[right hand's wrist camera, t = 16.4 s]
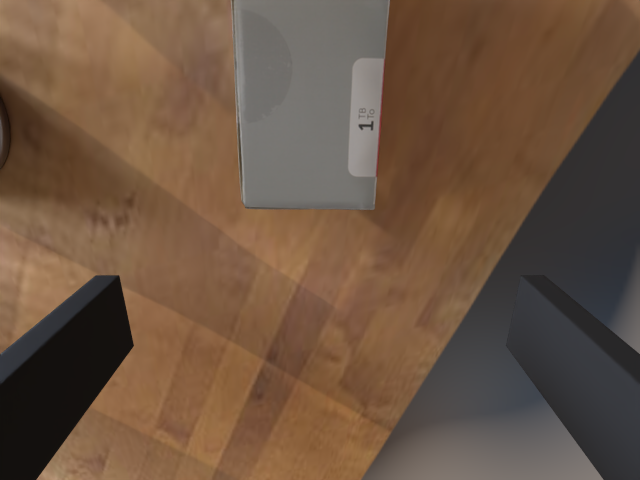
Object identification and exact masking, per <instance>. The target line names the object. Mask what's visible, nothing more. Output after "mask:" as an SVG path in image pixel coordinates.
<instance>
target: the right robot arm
mask: <svg viewBox="0 0 640 480" xmlns="http://www.w3.org/2000/svg"><path fill="white" fill-rule="evenodd" d="M9 146H10V127H9V121H8V117H7V113H6V110H5V107H4V104H3V102H2V99H1V97H0V169H1V168H2V166H3V164H4V162H5V160H6V158H7V155H8V151H9ZM133 346H134V344H133V339H132V335H131V330H130V325H129V320H128V315H127V311H126V306H125V301H124V296H123V291H122V286H121V282H120V277H119V275H97V276H95V277H93V278H92V279H91V280H90V281H89V282H87V283H86V284H85V285H84V286H82V287H81V288H80V289H79V290H78V291H76V292H75V293H74V294H73V295H72V296H70V297H69V298H68V299H67V300H65V301H64V302H63V303H62V304H61V305H59V306H58V307H57V308H56V309H55V310H53V311H52V312H51V313H50V314H48V315H47V316H46V317H45V318H44V319H42V320H41V321H40V322H39V323H38V324H36V325H35V326H34V327H33V328H32V329H30V330H29V331H28V332H27V333H25V334H24V335H23V336H22V337H21V338H19V339H18V340H17V341H16V342H15V343H13V344H12V345H11V346H10V347H8V348H7V349H6V350H5V351H4V352H2V353H1V354H0V480H36V479H37V478H38V477H39V475H40V474H41V472H42V471H43V470H44V468H45V467H46V466H47V464H48V463H49V462H50V460H51V459H52V457H53V456H54V455H55V453H56V452H57V451H58V449H59V448H60V446H61V445H62V444H63V442H64V441H65V440H66V438H67V437H68V435H69V434H70V433H71V431H72V430H73V429H74V427H75V426H76V424H77V423H78V422H79V420H80V419H81V418H82V416H83V415H84V414H85V412H86V411H87V409H88V408H89V407H90V405H91V404H92V403H93V401H94V400H95V398H96V397H97V396H98V394H99V393H100V392H101V390H102V389H103V387H104V386H105V385H106V383H107V382H108V381H109V379H110V378H111V377H112V375H113V374H114V372H115V371H116V370H117V368H118V367H119V366H120V364H121V363H122V361H123V360H124V359H125V357H126V356H127V355H128V353H129V352H130V350H131V349H132V348H133ZM506 346H507V348H508V349H509V350H510V352H511V353H512V355H513V356H514V357H515V359H516V360H517V361H518V363H519V364H520V366H521V367H522V368H523V370H524V371H525V372H526V374H527V375H528V377H529V378H530V379H531V381H532V382H533V383H534V385H535V386H536V387H537V389H538V390H539V392H540V393H541V394H542V396H543V397H544V398H545V400H546V401H547V403H548V404H549V405H550V407H551V408H552V409H553V411H554V412H555V414H556V415H557V416H558V418H559V419H560V420H561V422H562V423H563V424H564V426H565V427H566V428H567V430H568V431H569V433H570V434H571V435H572V437H573V438H574V440H575V441H576V442H577V444H578V445H579V446H580V448H581V449H582V451H583V452H584V453H585V455H586V456H587V457H588V459H589V460H590V461H591V463H592V464H593V466H594V467H595V468H596V470H597V471H598V472H599V474H600V475H601V477H602V478H603V479H604V480H640V354H639V353H638V352H636V351H635V350H634V349H633V348H632V347H630V346H629V345H628V344H627V343H625V342H624V341H623V340H622V339H621V338H619V337H618V336H617V335H616V334H615V333H613V332H612V331H611V330H610V329H608V328H607V327H606V326H605V325H604V324H602V323H601V322H600V321H599V320H598V319H596V318H595V317H594V316H593V315H591V314H590V313H589V312H588V311H587V310H585V309H584V308H583V307H582V306H581V305H579V304H578V303H577V302H576V301H575V300H573V299H572V298H571V297H570V296H568V295H567V294H566V293H565V292H564V291H562V290H561V289H560V288H559V287H558V286H556V285H555V284H554V283H553V282H551V281H550V280H549V279H548V278H547V277H545V276H544V275H542V276H541V275H540V276H539V275H536V276H535V275H534V276H531V275H529V276H526V275H523V276H521V277H520V282H519V286H518V291H517V296H516V301H515V306H514V311H513V316H512V320H511V325H510V330H509V335H508V339H507V344H506Z"/></svg>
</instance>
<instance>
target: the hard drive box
mask: <svg viewBox="0 0 640 480" xmlns="http://www.w3.org/2000/svg"><path fill="white" fill-rule="evenodd" d="M389 5H390V0H231V7H232V27H233V47H234V70H235V93H236V116H237V139H238V160H239V176H240V189H241V200H242V202H243V204H244V205H245V208H248V209H346V210H374V209H375V196H376V182H377V172H378V159H379V145H380V132H381V118H382V102H383V85H384V70H385V51H386V38H387V26H388V16H389Z"/></svg>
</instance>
